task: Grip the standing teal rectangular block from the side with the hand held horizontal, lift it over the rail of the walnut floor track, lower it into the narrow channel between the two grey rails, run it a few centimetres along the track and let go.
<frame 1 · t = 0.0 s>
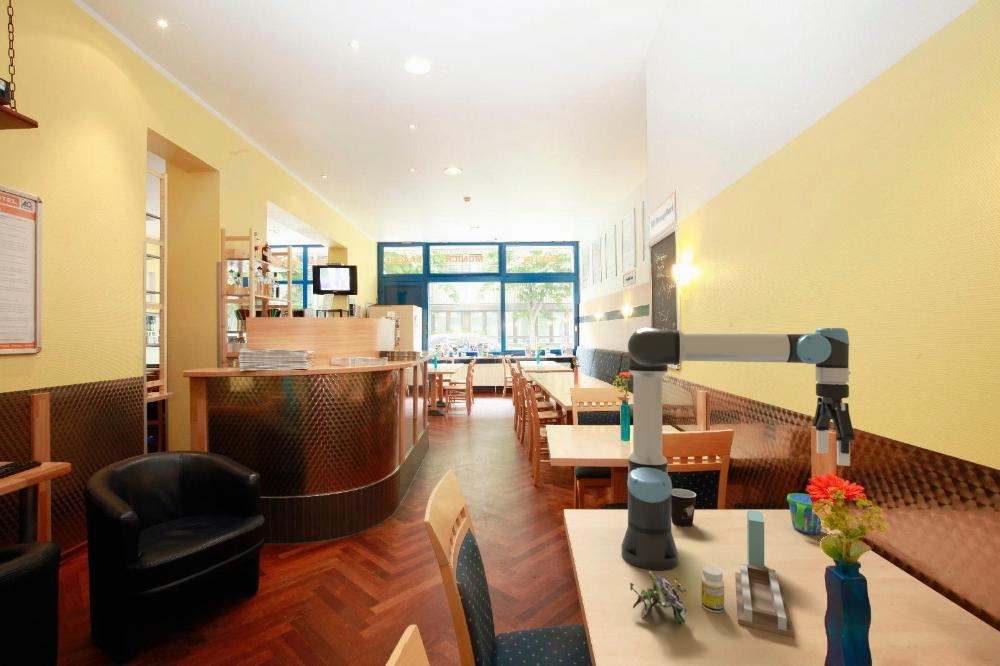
hand: (832, 459, 127), 28 cm above the table, tool pointing down, fingers open, 13 cm apart
track: (760, 603, 105), on the table
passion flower: (659, 619, 99), on the table
supplement bottle: (712, 608, 103), on the table
coffee mug: (677, 523, 151), on the table
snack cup: (806, 530, 146), on the table
teal rectangular block: (755, 568, 121), on the table
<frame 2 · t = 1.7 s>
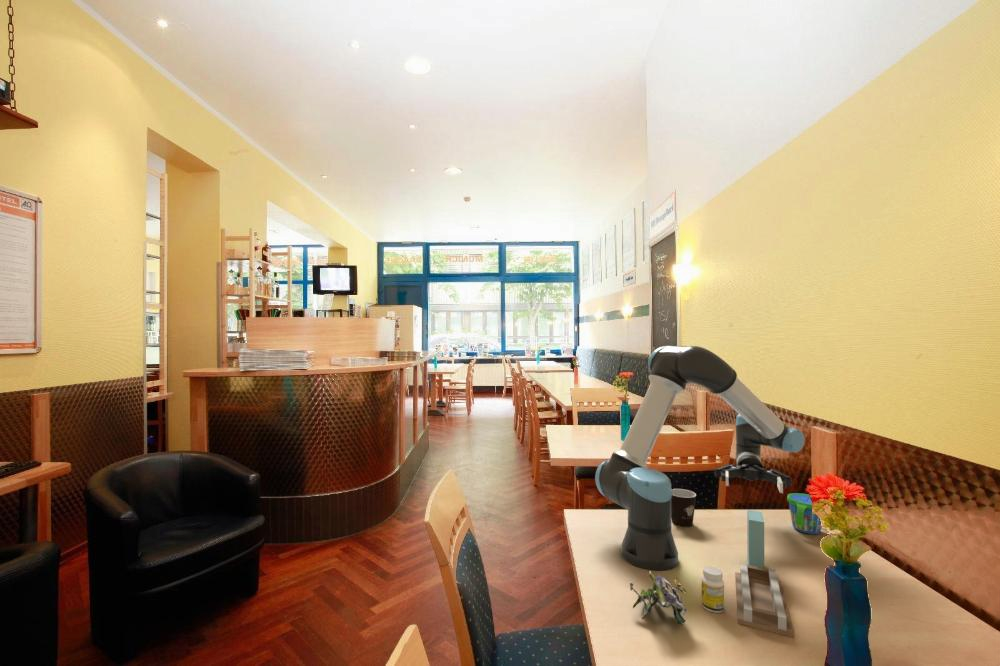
hand: (753, 484, 130), 20 cm above the table, tool horizontal, fingers open, 13 cm apart
nothing on the table moved.
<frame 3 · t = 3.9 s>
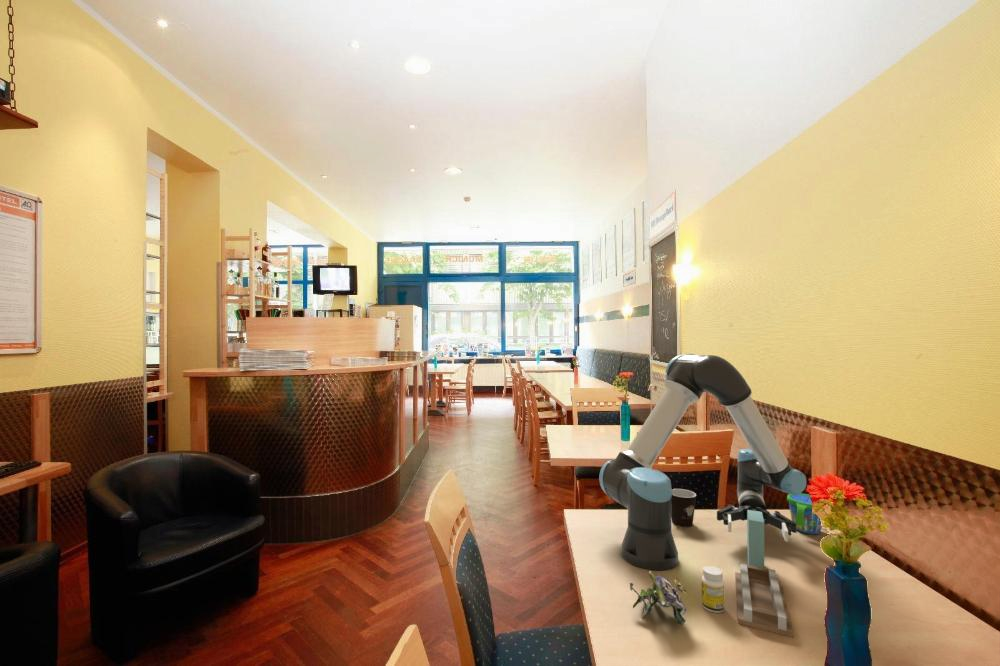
hand: (757, 531, 125), 8 cm above the table, tool horizontal, fingers open, 13 cm apart
nothing on the table moved.
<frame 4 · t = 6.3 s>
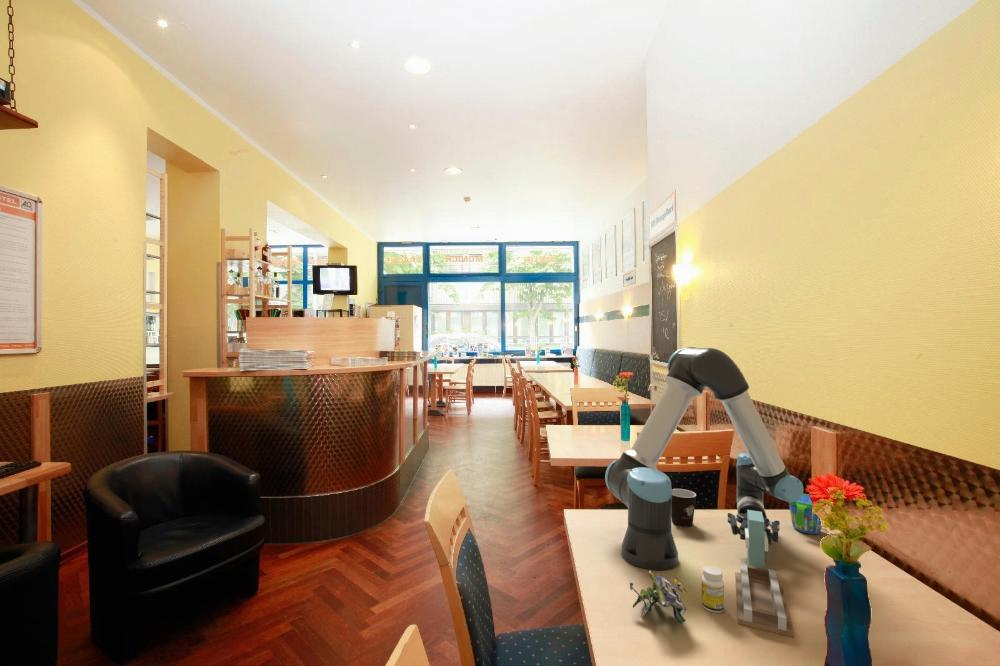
hand: (756, 544, 116), 9 cm above the table, tool horizontal, fingers closed on teal rectangular block, 3 cm apart
teal rectangular block: (755, 568, 121), on the table, touching gripper
everything else where it was.
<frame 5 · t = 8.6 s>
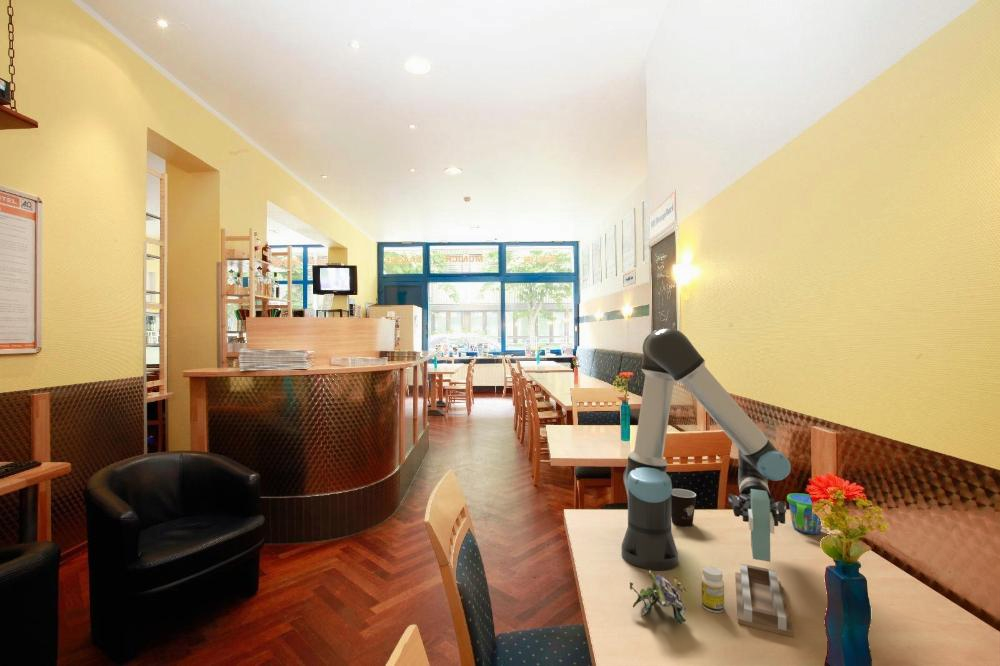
hand: (761, 525, 104), 18 cm above the table, tool horizontal, fingers closed on teal rectangular block, 3 cm apart
teal rectangular block: (760, 553, 109), point 10 cm above the table, touching gripper
everything else where it was.
when the fingers open (10 cm above the table, at t = 11.1 s): teal rectangular block stays where it is, resting on track.
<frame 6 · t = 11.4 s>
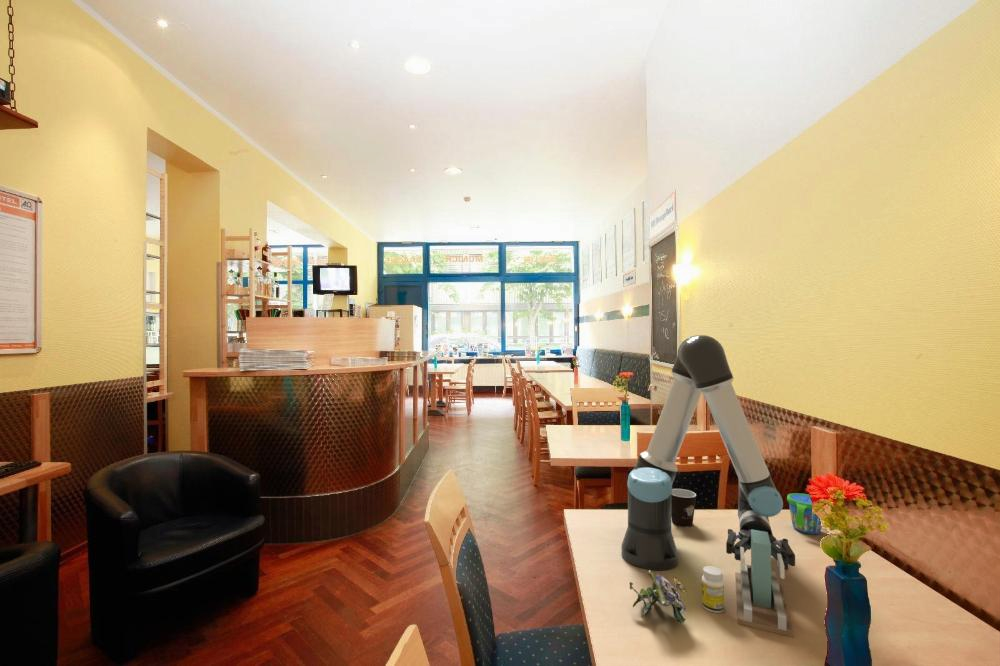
hand: (762, 568, 101), 10 cm above the table, tool horizontal, fingers open, 7 cm apart
teal rectangular block: (760, 597, 105), point 1 cm above the table, touching track
everything else where it was.
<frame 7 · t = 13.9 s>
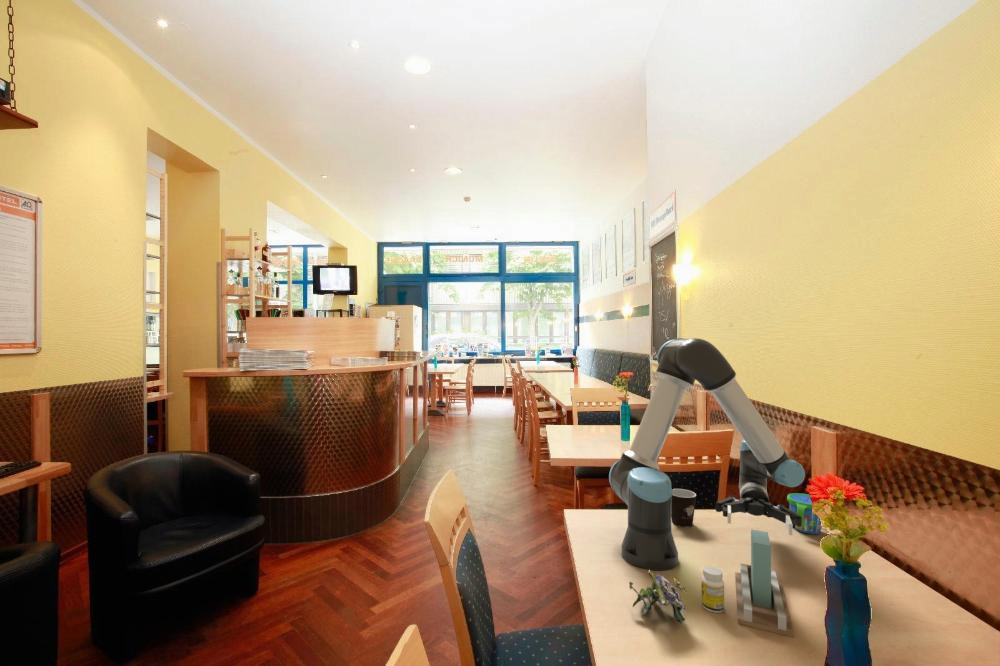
hand: (759, 523, 115), 14 cm above the table, tool horizontal, fingers open, 13 cm apart
nothing on the table moved.
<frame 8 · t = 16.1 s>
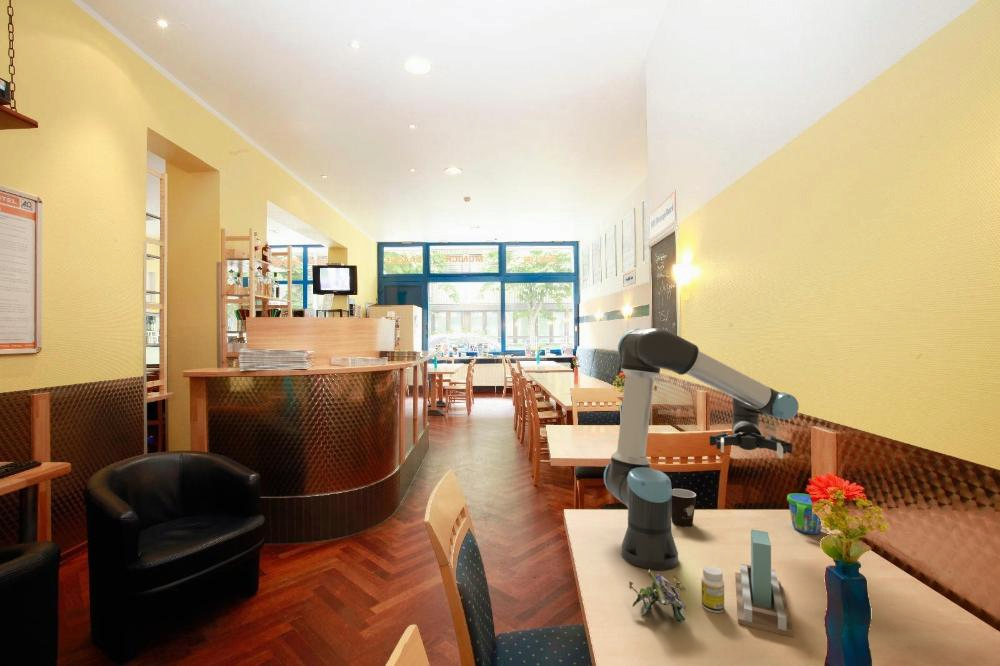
hand: (751, 450, 119), 32 cm above the table, tool horizontal, fingers open, 13 cm apart
nothing on the table moved.
at the end: teal rectangular block inside the target area on the track (0.5 cm from its centre), point 1.0 cm above the track's base; teal rectangular block tilted 0°; the gripper is holding nothing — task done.
